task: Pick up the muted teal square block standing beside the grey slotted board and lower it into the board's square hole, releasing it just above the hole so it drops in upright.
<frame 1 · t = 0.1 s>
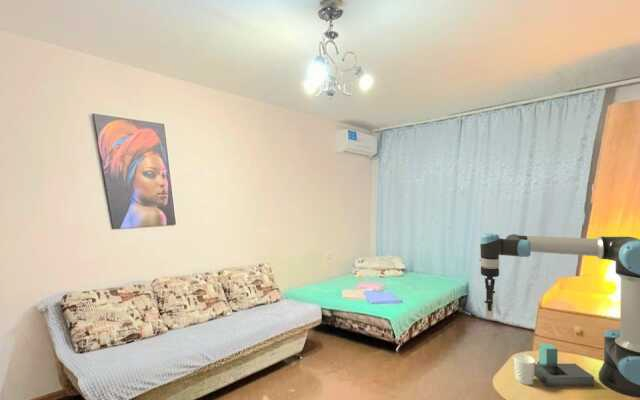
hand: (490, 311, 143), 28 cm above the table, fingers open, 13 cm apart
grey slotted board: (561, 379, 136), on the table
white cup: (524, 380, 136), on the table
teal block: (548, 366, 145), on the table
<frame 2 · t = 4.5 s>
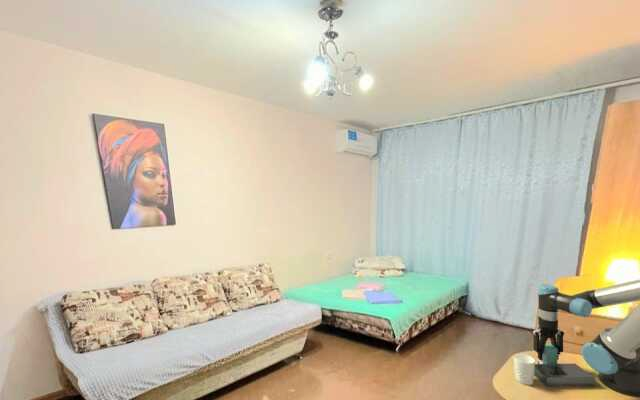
hand: (548, 365, 145), 0 cm above the table, fingers closed on teal block, 5 cm apart
teal block: (548, 366, 145), on the table, touching gripper
everything else where it was.
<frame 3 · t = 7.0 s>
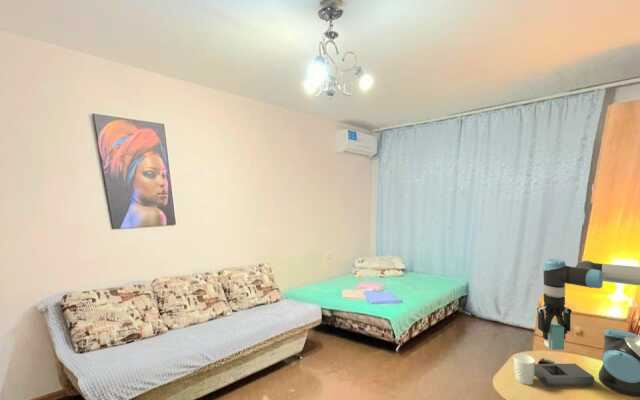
hand: (554, 346, 136), 15 cm above the table, fingers closed on teal block, 5 cm apart
teal block: (553, 346, 136), point 14 cm above the table, touching gripper
everything else where it was.
when the fingers open (6 cm above the table, at t = 9.7 s): teal block drops 5 cm, resting in grey slotted board.
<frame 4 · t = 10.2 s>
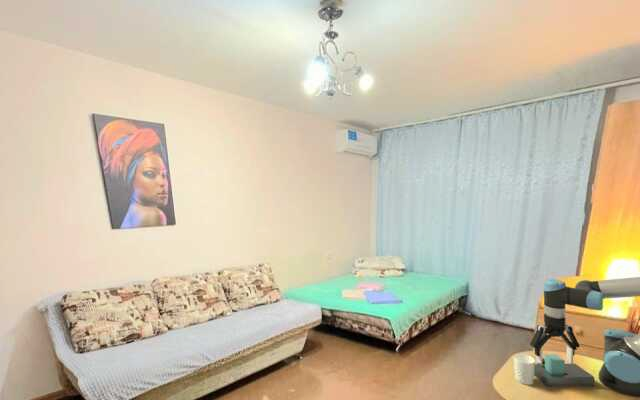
hand: (554, 362, 136), 8 cm above the table, fingers open, 13 cm apart
teal block: (554, 379, 136), resting in grey slotted board
everything else where it was.
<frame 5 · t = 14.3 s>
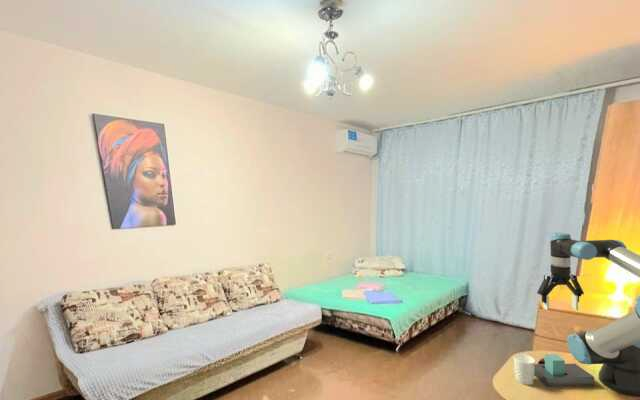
hand: (560, 309, 147), 27 cm above the table, fingers open, 13 cm apart
nothing on the table moved.
at the end: teal block 0.1 cm from the target spot, resting in grey slotted board; teal block tilted 0°; the gripper is holding nothing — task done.
